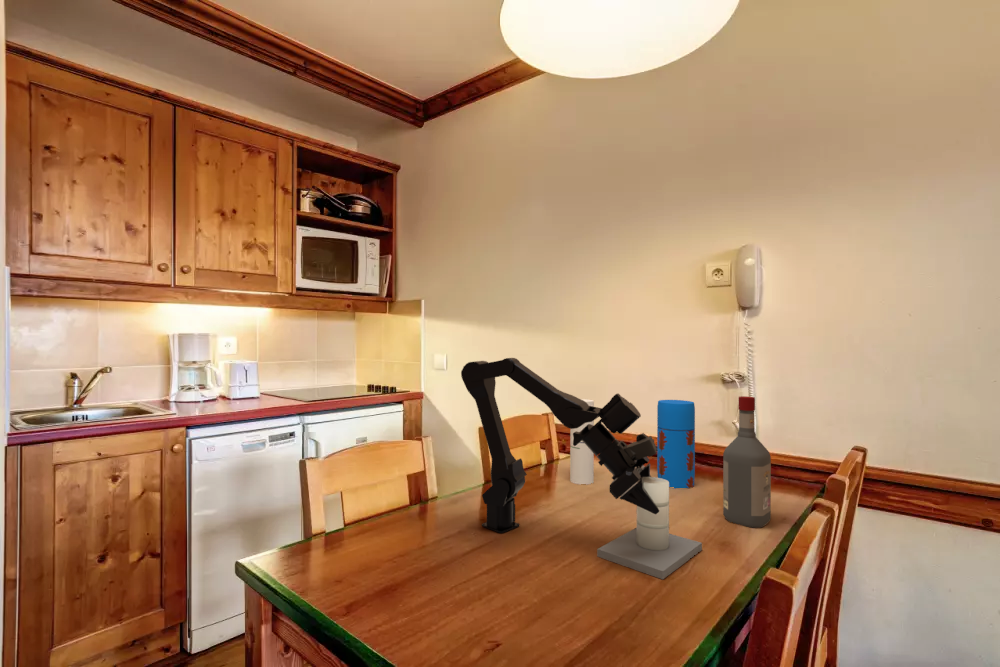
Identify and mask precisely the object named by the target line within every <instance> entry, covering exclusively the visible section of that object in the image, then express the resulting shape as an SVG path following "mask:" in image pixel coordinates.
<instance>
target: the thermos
mask: <svg viewBox="0 0 1000 667" xmlns="http://www.w3.org/2000/svg"><path fill="white" fill-rule="evenodd" d="M656 409H657V410H656V412H657V416H656V418H657V419H656V420H657V422H656V423H657V429H656V430H657V435H656V436H657V437H656V439H657V440H656V442H657V444H656V448H657V450H658V451H656V452H657V453H656V454H657V455H656V456H657V457H656V458H657V459H656V460H657V463H656V465H657V466H656V467H657V468H656V469H657V470H656V471H657V478H662V479H665V480H667V481H669V487H674V488H673V489H676V488H688V489H690V488H689V487H692V488H693V487H695V477H696V476H695V475H696V471H695V470H696V466H695V465H696V459H695V458H696V457H695V455H696V430H695V429H696V408H695V402H694V401H692V400H691V401H690V400H684V399H683V400H681V399H679V400H678V399H660V400H658V401H657V408H656Z"/></svg>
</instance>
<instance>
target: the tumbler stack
mask: <svg viewBox="0 0 1000 667" xmlns="http://www.w3.org/2000/svg"><path fill="white" fill-rule="evenodd" d="M640 478H642V477H640ZM643 478H644V489H645V490H646V491H647V493H648V494H649V496H650V497H651V499H652V500H653V501H654V503H655V504H656V506H657V507H658V509H659V512H658V513H657V514H654V513H651V512H649V511H647V510H645V509H643V508H641V507H639V506H637V505H636V528H637V544H638V545H639V546H640V547H643V548H645V549H649V550H665V549H667V548H668V547H669V534H670V488H669V481H667V480H665V479H662V478H658V476H657V477H655V476H651V477H643Z"/></svg>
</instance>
